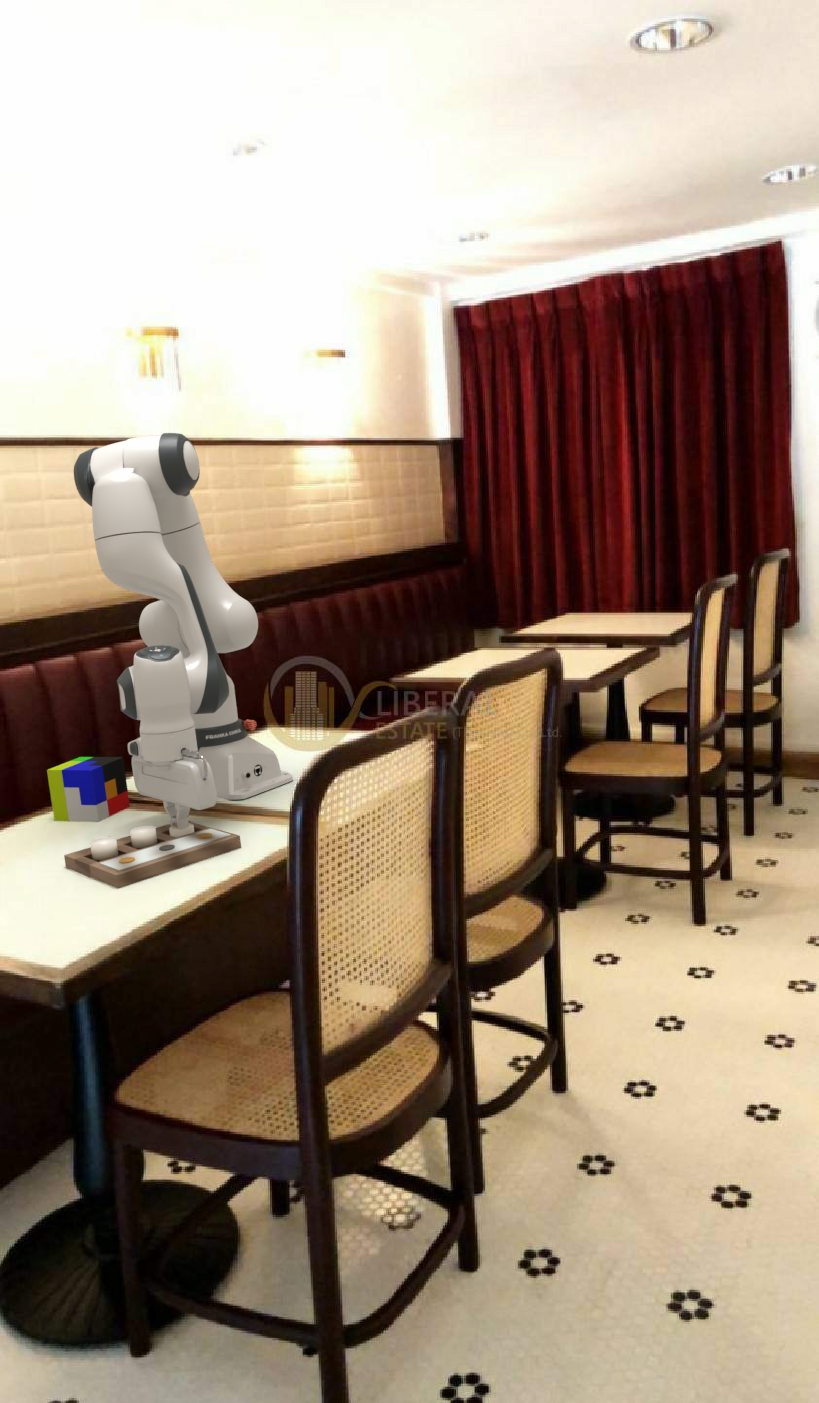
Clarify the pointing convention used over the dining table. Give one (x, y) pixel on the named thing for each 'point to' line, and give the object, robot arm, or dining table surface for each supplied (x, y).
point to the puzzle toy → (88, 789)
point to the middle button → (143, 836)
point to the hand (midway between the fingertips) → (179, 827)
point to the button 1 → (104, 848)
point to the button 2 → (181, 831)
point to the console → (153, 855)
